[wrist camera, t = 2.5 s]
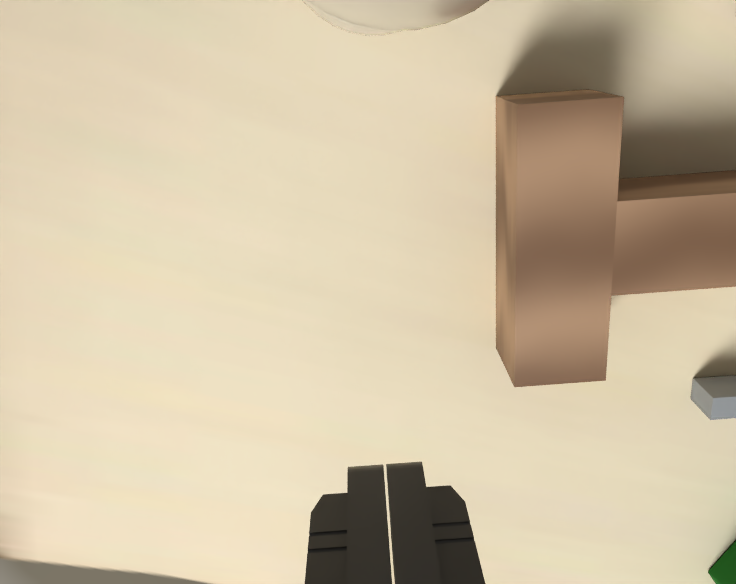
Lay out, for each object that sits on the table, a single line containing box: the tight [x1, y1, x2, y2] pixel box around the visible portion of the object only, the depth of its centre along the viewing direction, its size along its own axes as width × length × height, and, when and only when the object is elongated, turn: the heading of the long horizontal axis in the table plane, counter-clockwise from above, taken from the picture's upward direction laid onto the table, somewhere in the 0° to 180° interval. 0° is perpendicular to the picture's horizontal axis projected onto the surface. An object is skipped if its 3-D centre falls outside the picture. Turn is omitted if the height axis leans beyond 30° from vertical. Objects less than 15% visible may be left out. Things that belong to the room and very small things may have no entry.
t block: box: [496, 89, 736, 387], centre depth 29 cm, size 12×12×4 cm
